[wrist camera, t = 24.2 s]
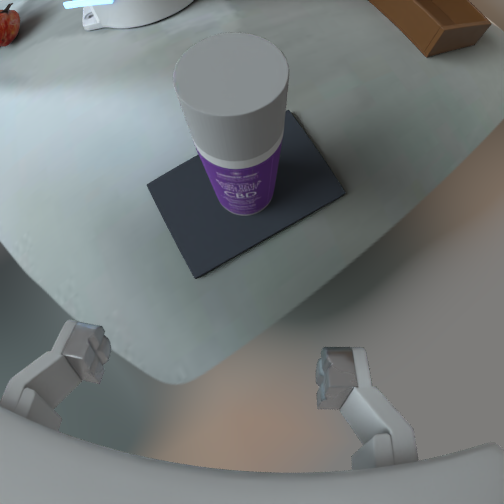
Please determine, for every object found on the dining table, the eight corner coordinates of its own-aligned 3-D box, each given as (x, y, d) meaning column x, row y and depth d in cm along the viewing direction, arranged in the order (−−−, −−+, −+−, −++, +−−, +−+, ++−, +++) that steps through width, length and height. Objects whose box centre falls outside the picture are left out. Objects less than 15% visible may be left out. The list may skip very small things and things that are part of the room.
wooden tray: (362, -5, 29) (371, -33, 24) (418, -11, 30) (429, -34, 24) (426, 57, 28) (444, 30, 22) (474, 45, 28) (491, 23, 23)
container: (230, 225, 25) (194, 140, 10) (206, 175, 26) (155, 55, 11) (284, 201, 25) (315, 92, 10) (258, 152, 26) (259, 18, 11)
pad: (148, 186, 26) (146, 184, 26) (288, 112, 27) (288, 109, 26) (196, 278, 25) (194, 278, 25) (344, 194, 26) (345, 192, 25)
